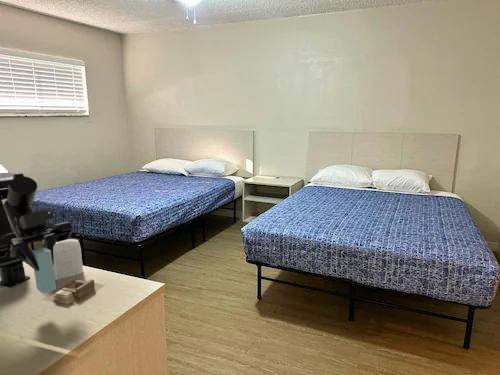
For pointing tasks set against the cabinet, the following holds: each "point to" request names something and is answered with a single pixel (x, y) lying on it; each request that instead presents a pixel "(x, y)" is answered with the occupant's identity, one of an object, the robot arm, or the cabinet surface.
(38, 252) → the teal rectangular block
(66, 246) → the photo printer
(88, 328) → the cabinet surface
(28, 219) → the robot arm
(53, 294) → the rack
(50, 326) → the cabinet surface
